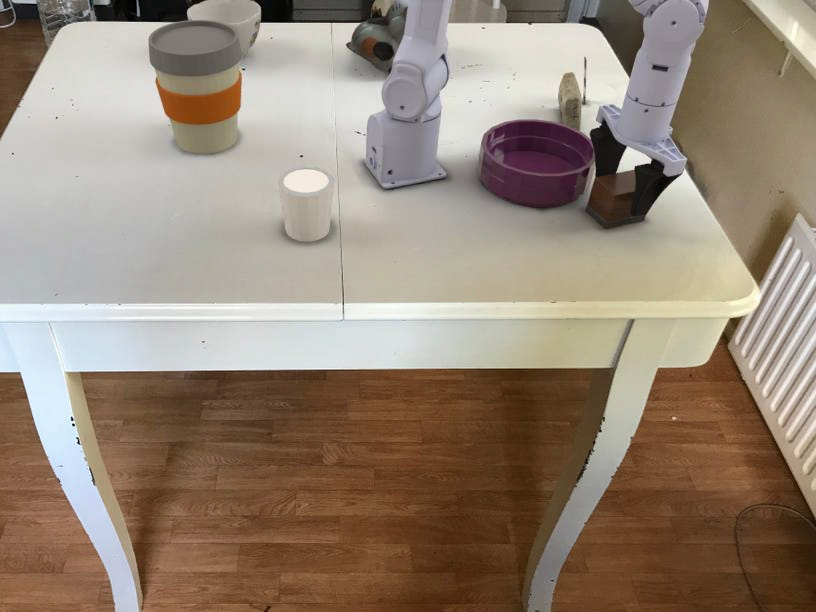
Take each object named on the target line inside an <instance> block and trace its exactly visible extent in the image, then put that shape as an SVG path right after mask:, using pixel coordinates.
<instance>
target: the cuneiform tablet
mask: <svg viewBox="0 0 816 612" xmlns="http://www.w3.org/2000/svg"><path fill="white" fill-rule="evenodd" d="M583 62H584V63H583V93H581V90H580V89H581V88H580V85H579V82H578V80H577V77H576V75H575V74H576V73H574V72H572V71H570V72H565V73H564V74H562V78H561V80H560V84H559V86H558V93H557V102H558V107H559V110H560V111H561V112H560V113H561V116H562V118H561V119H562V123H563V125H567V126H570V127H572V128H574V129H576V130H578V131H580V130H581V125H582V110H583V109H582V107H583V105H586V95H587V94H586V93H587V57H586V56H584V57H583ZM582 94H583V97H582ZM582 101H583V102H582Z"/></svg>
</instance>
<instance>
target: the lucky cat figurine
mask: <svg viewBox="0 0 816 612" xmlns="http://www.w3.org/2000/svg"><path fill="white" fill-rule="evenodd" d="M408 4H409V0H394V1H393V2H392V3H391V5H390V6H389V8H388V9H387V12H386V14H385V15H383V12H382V8H381V6H379V5H377V4H376V5H374V6H373V7H372V8H371V11H370V12H371V13H370V14H371V16H370V17H369V18H368V19H367V20H365V21H362V22H360V23H359V24H358V25H357V26H356V27H355V29H354V30H353V32H352V34H351V38H350V39H351V40H350V41H348V42H347V43H346V44H345V46H346V48H347V49H348V50H349V51H351V52H352V53H354V54H355V55H356V56H358V57H361V58H362V59H364V60H365V61H367V62H369V64H371V66H373V67H374V68H376V69H377V70H380V71H381V72H383V73H385V74H389V75H390V73H391V70H392V65H393V60H394V57H395V55H396V52H397V50H398V48H399V46H400V43H401V41H402V39H403V36H404V31H405V24H406V17H407V11H408Z"/></svg>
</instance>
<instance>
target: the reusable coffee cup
mask: <svg viewBox="0 0 816 612" xmlns="http://www.w3.org/2000/svg"><path fill="white" fill-rule="evenodd" d="M148 53H149V54H148V56H149V63H150V65H151V67H152V68H154V72H155V75H156V77H155V80H154V83H155V86H156V89H157V92H158V96H159V99H160V102H161V106H162V108H163V111H164V114H165V116H166V117H168V119H169V122H170V125H171V128H172V129H171V130H172V132H173V135H174V137H175V141H176V145H177V146H178V148H179V149H181V150H183V151H185V152H187V153H191V154H196V155H210V154H216V153H221V152H224V151H226V150H228V149H230V148H231V147H232V146H234V144H236V142H237V138H238V115H239V114H238V113H239V111H240V110H241V107H242V83H243V74H242V72H241V70H240V62H241V60H242V59H243V58H242V52H241V47H240V42H239V37H238V33H237V31H236V30H235V29H234V28H233V27H231V26H230V25H228V24H225V23H221V22H217V21H210V20H188V19H187V20H181V21H175V22H172V23H168V24H165V25H162V26H160V27H158V28H156V29H155V30H153V31H152V32H151V33H150V35H149V36H148ZM241 58H242V59H241Z"/></svg>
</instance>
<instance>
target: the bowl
mask: <svg viewBox="0 0 816 612" xmlns="http://www.w3.org/2000/svg"><path fill="white" fill-rule="evenodd" d="M476 171H477V174H478V178H479V180H480V181H481V182H482V184H483V185H484V187H485V188H486V189H487V190H488V191H489V192H490V193H492V194H494V195H495V196H497V197H498V198H500V199H502V200H504V201H507V202H510V203H512V204H515V205H520V206H525V207H532V208H551V207H558V206H563V205H567V204H569V203H571V202H573V201H576V200H577V199H578V198H580V197H582V196H583V195H584V194H585V193H586V192H587V191H588V189H589V188H590V187H591V184H592V179H593V176H594V173H595V154H594V149H593V144H592V141H591V138H590V136H589V135H586V134H585V133H584V132H583V131H580V130H579V131H578V130H576V129H574V128H572V127H570V126H567V125H564V123H560V122H556V121H552V120H545V119H536V118H529V119H528V118H527V119H526V118H525V119H524V118H522V119H521V118H520V119H519V118H518V119H514V120H508V121H503V122H501V123H498V124H496V125H493V126H491V127H490V128H489V129H487V131H486V132H484V134H483V135H482V139H481V142H480V146H479V153H478V160H477V167H476Z"/></svg>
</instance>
